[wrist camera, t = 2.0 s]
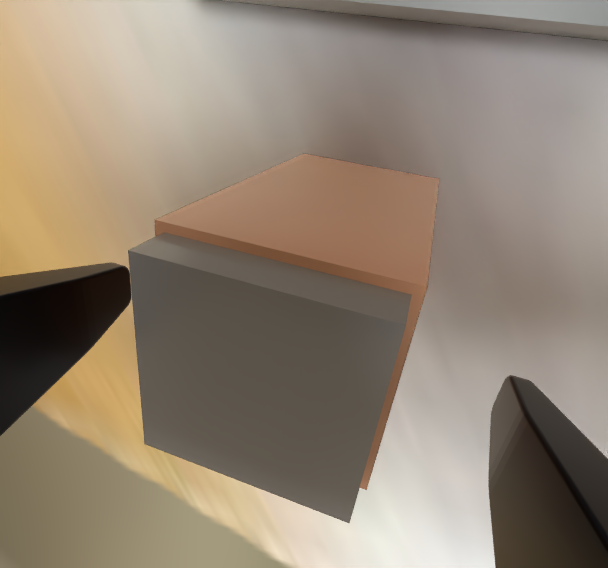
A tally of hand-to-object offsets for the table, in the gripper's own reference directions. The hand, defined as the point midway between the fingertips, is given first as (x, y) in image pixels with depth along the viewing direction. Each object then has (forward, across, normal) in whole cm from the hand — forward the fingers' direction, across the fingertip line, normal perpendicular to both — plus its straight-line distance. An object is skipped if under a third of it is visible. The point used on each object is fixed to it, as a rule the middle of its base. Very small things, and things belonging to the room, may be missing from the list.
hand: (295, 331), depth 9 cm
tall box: (+8, 0, 0) cm, 8 cm away
